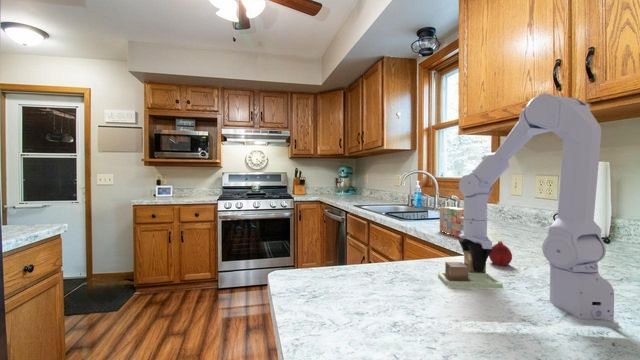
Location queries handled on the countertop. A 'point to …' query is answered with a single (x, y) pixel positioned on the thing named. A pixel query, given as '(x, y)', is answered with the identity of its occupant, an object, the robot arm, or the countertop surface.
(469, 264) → the two tone block
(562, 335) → the countertop surface
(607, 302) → the robot arm
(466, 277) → the walnut block
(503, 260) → the onion
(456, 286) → the base plate
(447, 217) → the stack of blocks
